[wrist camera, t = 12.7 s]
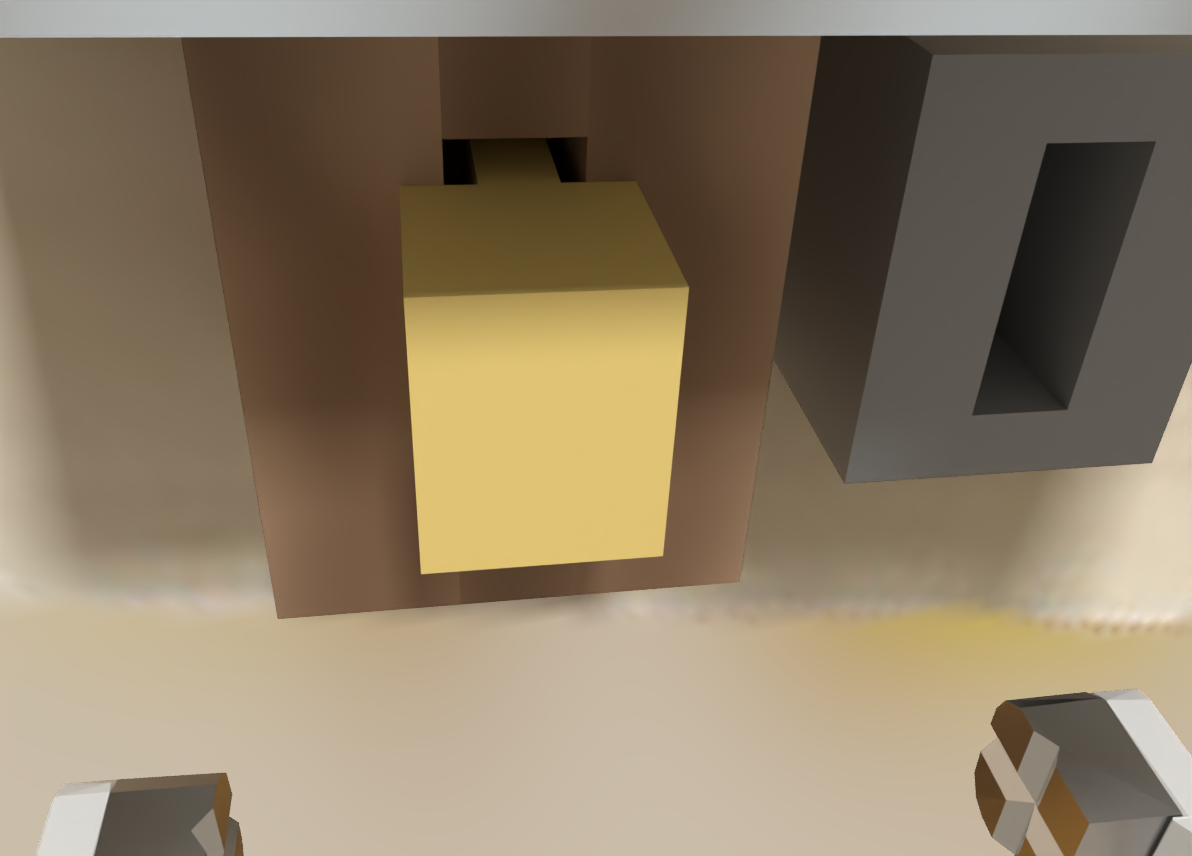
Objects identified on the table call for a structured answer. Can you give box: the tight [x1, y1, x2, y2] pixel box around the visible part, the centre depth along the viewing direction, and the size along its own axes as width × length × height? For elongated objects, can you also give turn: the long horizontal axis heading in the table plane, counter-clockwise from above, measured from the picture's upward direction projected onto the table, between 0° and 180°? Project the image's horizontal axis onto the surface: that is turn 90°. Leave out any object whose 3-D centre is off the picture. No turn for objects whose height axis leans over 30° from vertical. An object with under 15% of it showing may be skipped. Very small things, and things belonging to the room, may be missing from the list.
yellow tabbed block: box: [400, 138, 689, 574], centre depth 20 cm, size 4×5×8 cm
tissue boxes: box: [0, 0, 1192, 619], centre depth 20 cm, size 22×16×18 cm
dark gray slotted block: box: [773, 35, 1192, 484], centre depth 27 cm, size 8×10×8 cm
